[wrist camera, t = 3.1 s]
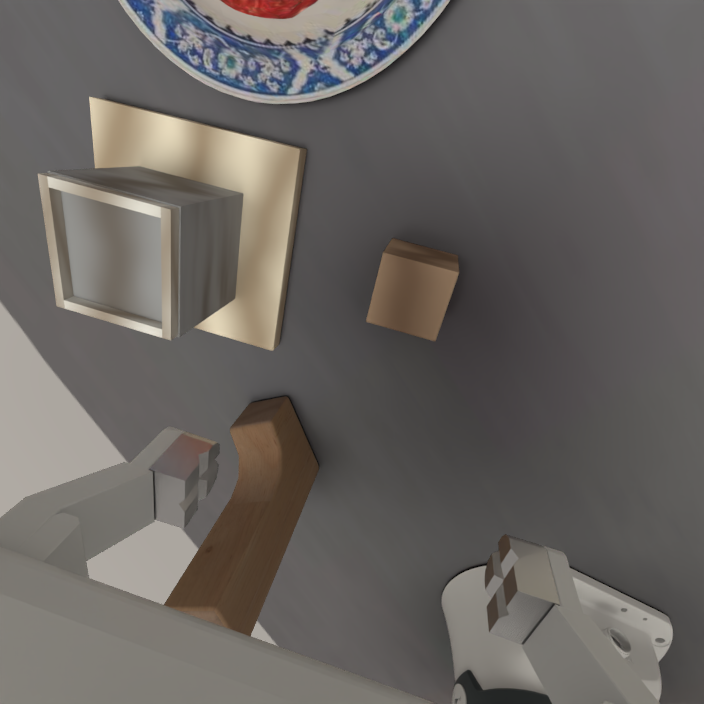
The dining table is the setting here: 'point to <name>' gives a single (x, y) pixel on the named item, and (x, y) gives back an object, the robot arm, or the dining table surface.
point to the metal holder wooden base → (175, 226)
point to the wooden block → (251, 520)
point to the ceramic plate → (283, 42)
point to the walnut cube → (413, 289)
